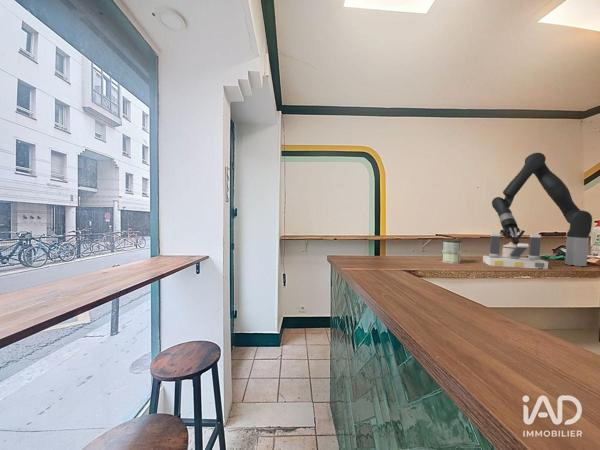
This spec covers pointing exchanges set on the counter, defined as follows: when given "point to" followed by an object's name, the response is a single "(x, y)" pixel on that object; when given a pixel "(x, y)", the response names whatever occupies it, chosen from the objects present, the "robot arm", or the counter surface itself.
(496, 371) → the counter surface
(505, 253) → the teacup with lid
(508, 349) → the counter surface
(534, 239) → the lever near
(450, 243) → the coffee can
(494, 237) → the lever far
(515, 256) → the lever middle
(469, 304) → the counter surface
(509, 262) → the console
